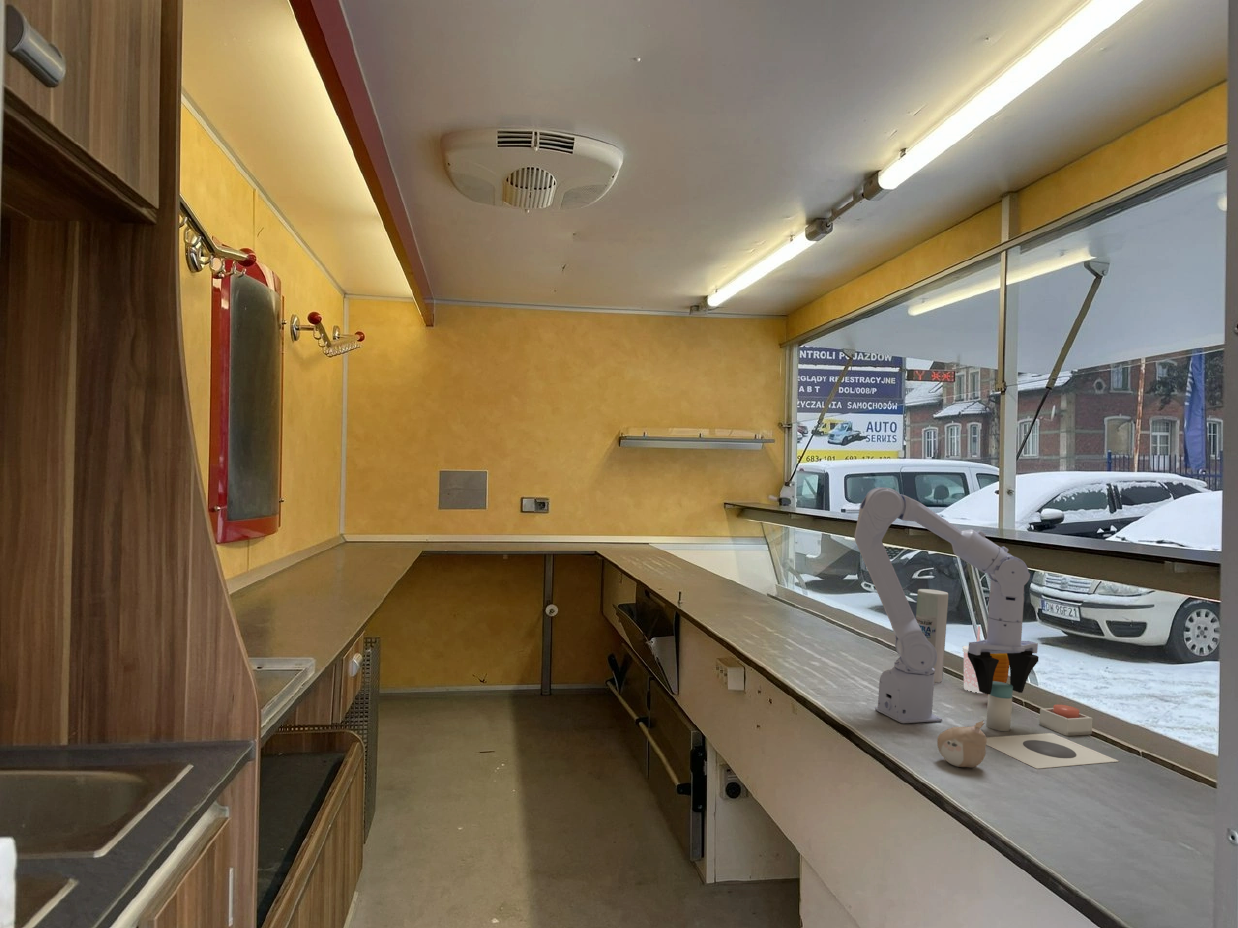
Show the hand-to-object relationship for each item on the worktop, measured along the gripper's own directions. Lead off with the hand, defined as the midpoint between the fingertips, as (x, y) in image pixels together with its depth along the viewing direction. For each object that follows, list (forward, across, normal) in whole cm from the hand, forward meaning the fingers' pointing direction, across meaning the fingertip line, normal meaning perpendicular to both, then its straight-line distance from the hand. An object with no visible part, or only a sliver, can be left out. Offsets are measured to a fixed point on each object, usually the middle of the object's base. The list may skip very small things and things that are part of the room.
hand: (1000, 691), depth 139 cm
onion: (+7, -22, -14) cm, 27 cm away
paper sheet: (+7, -1, -11) cm, 13 cm away
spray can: (+7, +10, +30) cm, 32 cm away
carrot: (+7, +11, +12) cm, 18 cm away
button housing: (+7, +13, -3) cm, 15 cm away
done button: (+5, +13, -3) cm, 14 cm away
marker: (+7, 0, 0) cm, 7 cm away
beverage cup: (+7, +15, +21) cm, 27 cm away
